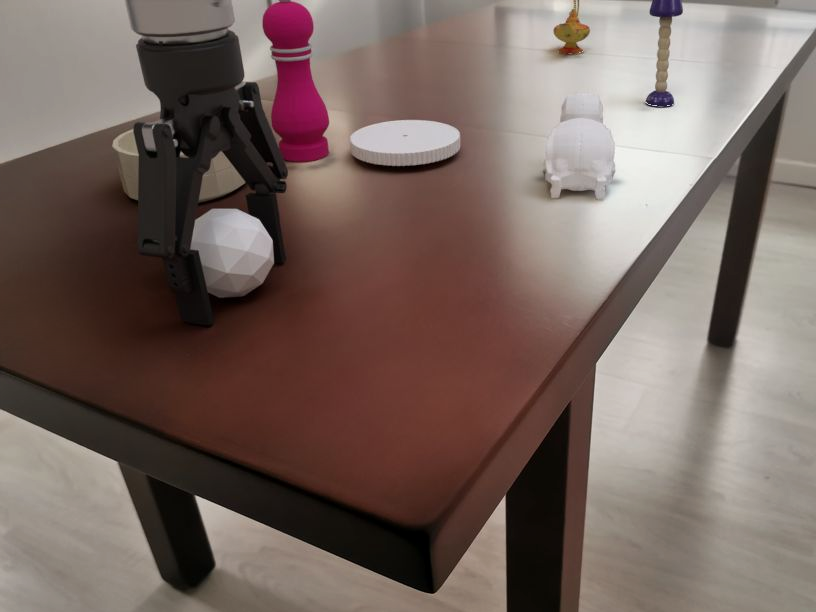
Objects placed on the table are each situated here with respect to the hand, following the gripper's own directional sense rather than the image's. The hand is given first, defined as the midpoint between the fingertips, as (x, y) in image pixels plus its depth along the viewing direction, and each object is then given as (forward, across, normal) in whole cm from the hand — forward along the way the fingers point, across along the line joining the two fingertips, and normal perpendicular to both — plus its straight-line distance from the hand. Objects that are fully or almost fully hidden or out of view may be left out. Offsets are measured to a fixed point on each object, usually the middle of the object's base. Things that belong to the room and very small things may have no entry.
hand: (237, 288), depth 72 cm
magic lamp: (+1, +102, -9) cm, 102 cm away
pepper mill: (0, +36, +12) cm, 38 cm away
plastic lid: (0, +39, -1) cm, 39 cm away
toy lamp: (+1, +71, -29) cm, 77 cm away
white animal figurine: (+1, +36, -24) cm, 43 cm away
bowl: (0, +22, +20) cm, 30 cm away
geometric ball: (0, 0, 0) cm, 0 cm away
